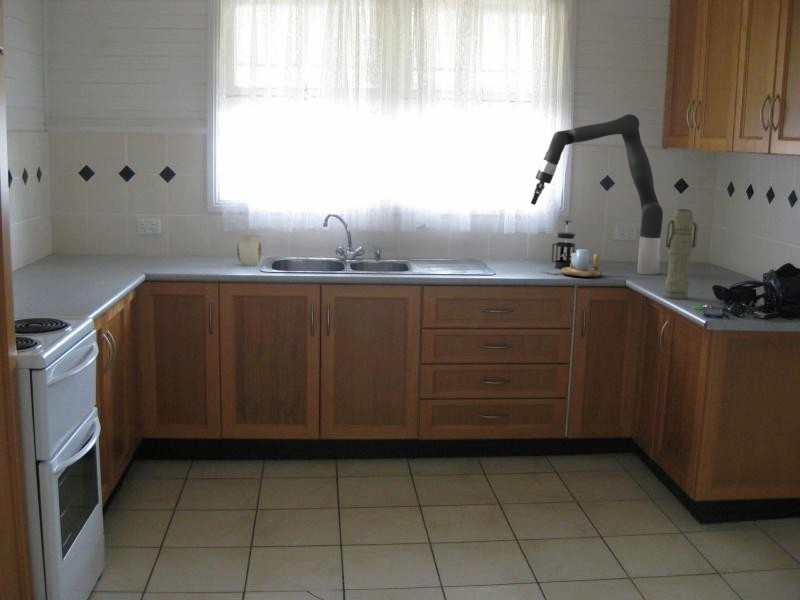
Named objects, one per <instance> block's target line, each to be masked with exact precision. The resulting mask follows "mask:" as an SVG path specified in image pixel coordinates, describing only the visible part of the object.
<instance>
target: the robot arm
mask: <svg viewBox="0 0 800 600" xmlns="http://www.w3.org/2000/svg"><path fill="white" fill-rule="evenodd" d="M613 135H614V136H615V135H621V137H622V140H623V142H624V143H623V144H624V145H625V149H626V151H625V152H626V157H627V163H628V167H629V171H630V175H631V179H632V180H633V181H632V182H633V184H634V186H635V188H636V191H637V193H638V197H639V202H640V207H641V223H640V224H641V225H640V232H639V233H640V234H639V244H638V254H637V255H638V258H637V269H636V273H637V274H640V275H649V276H650V275H651V276H652V275H660V265H661V253H660V247H661V246H660V245H661V235H662V227H663V218H664V217H663V216H664V212H663V211H664V210H663V208H662V207H661V205H660V202H659V200H658V198H657V194H656V191H655V187H654V185H655V184H654V176H653V171H652V167H651V164H650V160H649V157H648V154H647V152H646V149H645V148H644V146H643V143H642V139H641V135H640V120H639V118H638V117H637V115H635V114H633V113H632V114H631V113H628V114H625V115H623V116H621V117H619V118H616V119H613V120H610V121H605V122H599V123H593V124H588V125H582V126H577V127H575V128H574V127H573V128H571V129H566V130H558V131H555V133H554V134H553V136H552V138H551V140H550V141H551V142H550V144H549V147H548V149H547V151H546V153H545V154H544V157H543V160H542V162H541V164H540V166H539V169H538V171H537V172H536V175H535V179H536V180H538V181H539V182H537V183H536V186H535V189H534V192H533V196H532V199H531V201H530V204H531V205H534V206H535V205H536V204H537V202H538V199H539V197H540V196H541V195H542V193H543V191H544V189H545V187H546V185H545V183H546V184H549V185H550V184H551V182H552V180H553V178H554V176H555V173H556V171H557V168H558V165H559V162H560V159H561V156H562V154H563V152H564V150H565V148H566V146H568V145H573V144H575V143H579V144H580V143H584V142H589V141H592V140H593V141H594V140H596V139H600V138H603V137H608V136H609V137H610V136H613Z"/></svg>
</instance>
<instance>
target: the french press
mask: <svg viewBox="0 0 800 600" xmlns="http://www.w3.org/2000/svg"><path fill="white" fill-rule="evenodd" d="M563 222H565V225H566V230H565V231H562V232H556V234H557V238H558V239H563V240H564V239H565V240H568V239H569V240H570V239H572V240H573V239H575V238H576V234H577V233H575V232H571V231H570V232H569V231H568V225H569V223H571V222H572V220H567V219H566V220H563ZM551 247H552V248H551V263H554V267H555V268H554V267H553V268H554V269H556V268H558V269H557V270H562V268H565V267H570V263H571V257H572V253H576V250H575V249H576V243H574V242H568V241H565V242H556V243H552V246H551ZM558 248H560V250H559V253H558ZM571 248H572V253H571ZM554 254H555V255H554ZM554 256H555V257H554ZM558 257H559V259H558ZM554 258H555V259H554ZM564 258H566V259H564ZM572 267H575V266H572Z"/></svg>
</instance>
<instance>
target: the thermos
mask: <svg viewBox="0 0 800 600" xmlns="http://www.w3.org/2000/svg"><path fill="white" fill-rule="evenodd" d="M670 225H671V229H672V230H671V235H670ZM693 225H694V227H693ZM698 230H699V225H698V224H697V223H696V222H695V221H694V215H693V212H692V210H690V209H687V208H686V209H685V208H684V209H683V208H678V209H675V211H674V213H673V215H672V220H669V221H668V222H667V223H666V228H665V237H664V247H665V248H668V250H667V251H668V265H667V276H666V278H665V285H664V298H666V299H672V300H687V299H688V293H689V285H690V281H689V272H690V270H689V269H690V259H691V256H692V253H693V252H692V250H693V249H695V248H696V247H697V241H698ZM692 231H693V233H692ZM692 234H693V238H692ZM669 235H670V236H669Z"/></svg>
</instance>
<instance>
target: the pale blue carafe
mask: <svg viewBox="0 0 800 600" xmlns="http://www.w3.org/2000/svg"><path fill="white" fill-rule="evenodd" d="M589 252H590V251H589V249H584V248H582V249H581V248H580V249H579V248H578V249H576V250H575V253H573V252H571V255H572V257H570V261H571V263H573V264H572V266H574V267H576V268H575V270H579V271H586V270H588V268H589Z"/></svg>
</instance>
